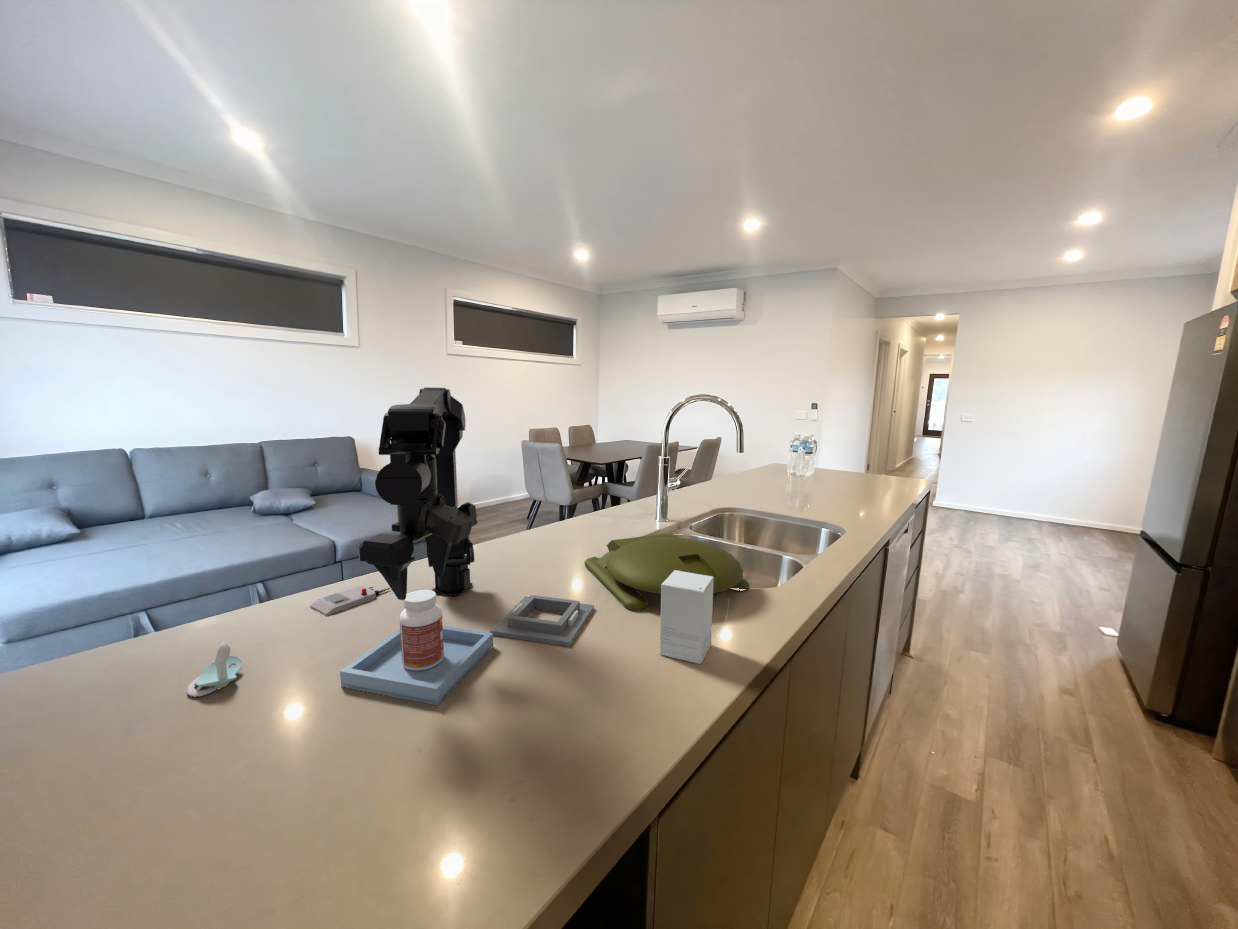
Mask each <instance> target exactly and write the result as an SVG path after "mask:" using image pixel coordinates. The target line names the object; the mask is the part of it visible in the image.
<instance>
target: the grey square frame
mask: <svg viewBox="0 0 1238 929" xmlns="http://www.w3.org/2000/svg"><path fill="white" fill-rule="evenodd" d="M535 610H536V611H545V612H551V613H559V614H562V615H561V616H560V618H559V619H558V620H557V621H555V620H548V619H541V618H533V617H529V615H531V613H532V612H533V611H535ZM594 610H595V605H594V604H589V603H582V602H581V601H580V600H575V599H574V600H573V599H565V598H557V597H551V596H542V595H535V594H534V595H533V594H530V595H529V596H524V597H523V598H522V599H521V600H519V602H518V603H516V605H515V606H514V607H512V609H511V610H510V611H508V612H507V614H505V615H504V617H503V618H501V620H499V621H498V622H497V623H496V624H495V625H494V626H493V627H492V628H491V629H490V631H489V633H493V637H494V636H496V637H500V638H501V637H502V638H509V639H514V640H515V639H517V640H522V641H523V640H524V641H530V642H535V643H541V644H550V645H556V646H563V647H568V648H569V647H570V646H571V645H572V643H573V642H574V640H575V639H576V637H577V636H578V634H579V632H581V630H582V628H583V626H584V625H585V624H586V622H587V621H588V619H589V618H590V616H592V615H591V614H592V613H593V611H594Z"/></svg>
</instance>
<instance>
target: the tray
mask: <svg viewBox="0 0 1238 929" xmlns="http://www.w3.org/2000/svg"><path fill="white" fill-rule="evenodd" d="M443 643H444V657H443V660H442V661H441V662H440V663H439V664H438V665H436V666H434V667H432V668H430V669H427V670H422V671H413V670H409V669H406V668H405V667H404V666H403V663H402V651H401V634H400V628H398V630H396V631H395V632H393V633H392V634H391V635H389V636H388V637H387V638H385V639H384V640H382V641H381V642H379V643H377V645H375V646H374V647H372V648H371V649H369V650H367V651H366V652H365V653H364V654H362V655H361V656H359V657H358V658H357V659H355V660H354V661H352V662H351V663H349V664H348V665H347V666H345V667H344V668H343V669H341V670H340V671H339V674H340V675H339V677H340V687H341V688H344V687H345V689H350V688H352V689H351V690H355V689H357V690H356V691H360V690H364V691H363V692H365V691H367V693H371V694H376V693H378V694H377V695H381V694H382V695H383V696H386V695H387V697H392V698H398V699H403V700H408V701H413V702H418V703H423V704H429V705H433V706H434V705H435V706H439V705H440V703H441V702H442V701H443V700H444V699H445V698H446V697H447V696H448V695H449V693H451V692H452V691H453V689H455V688H456V686H457V685H458V684H460V683H461V681H462V680H464V678H465V677H466V676H467V675H468V674H469V673H470V672H471V671H472V670H473V669H474V668H475V667H476V666H477V665H478V663H480V661H481V660H482V659H483V658H484V657H485V656H486V655H487V654H488V653H489V652H490V651H491V650H492V649H493V648H494V635H493V633H490V631H489V632H488V631H480V630H474V629H468V628H461V627H455V626H447V625H443ZM382 695H381V696H382Z"/></svg>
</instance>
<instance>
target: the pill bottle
mask: <svg viewBox="0 0 1238 929" xmlns="http://www.w3.org/2000/svg"><path fill="white" fill-rule="evenodd" d="M436 603H437V594H436V593H435V592H434V591H432V589H420V590H415V591H412V592H408V593H406V599H405V600H403V606H404V609H403V610H402V611H401V612H400V615H399V629H400V634H401V651H402V663H403V666H404V667H405V668H406V669H409V670H413V671H422V670H427V669H430V668H432V667H434V666H436V665H438V664H439V663H440V662H441V661H442V660H443V657H444V643H443V626H444V625H443V612H442V608H441V607H440V605H439V604H436Z"/></svg>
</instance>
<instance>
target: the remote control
mask: <svg viewBox="0 0 1238 929" xmlns="http://www.w3.org/2000/svg"><path fill="white" fill-rule="evenodd" d="M390 589H391V588H390V587H387V588H383V589H381V590H374V586H370V587H366V586H362V585H357V586H353V587H350V588H348V589H345V590H342V591H339V592H335V593H333V594H330V595H327V596H323V597H321V598H317V599H316V600H315V601H314V602H312V603H310V605H309V608H310V607H311V608H310V609H312V608H313V609H312V610H313V611H316V612H317V611H318V612H317V613H319V612H320V613H319V614H321V613H322V614H321V615H323V614H324V616H325V615H326V617H328V616H331V615H334V614H336V613H335V612H337V613H339V611H340V612H342V611H345V610H348V609H351V608H353V607H355V605H356V606H359V605H361V603H362V604H364V603H367V602H371V601H373V600H375V599H376V598H377V596H379V595H380V594H381V593H384V592H386V591H388V590H390ZM358 604H359V605H358ZM352 606H353V607H352ZM350 607H351V608H350ZM347 608H348V609H347ZM344 609H345V610H344ZM341 610H342V611H341ZM333 613H334V614H333ZM330 614H331V615H330ZM327 615H328V616H327Z"/></svg>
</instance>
